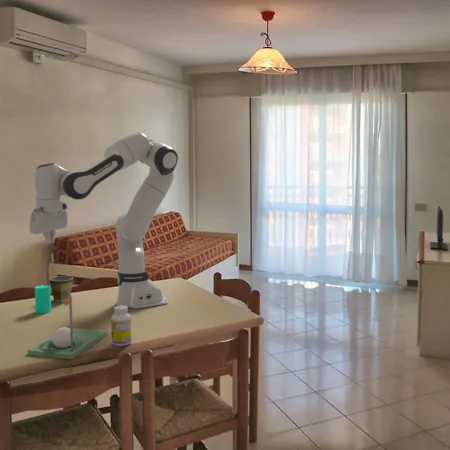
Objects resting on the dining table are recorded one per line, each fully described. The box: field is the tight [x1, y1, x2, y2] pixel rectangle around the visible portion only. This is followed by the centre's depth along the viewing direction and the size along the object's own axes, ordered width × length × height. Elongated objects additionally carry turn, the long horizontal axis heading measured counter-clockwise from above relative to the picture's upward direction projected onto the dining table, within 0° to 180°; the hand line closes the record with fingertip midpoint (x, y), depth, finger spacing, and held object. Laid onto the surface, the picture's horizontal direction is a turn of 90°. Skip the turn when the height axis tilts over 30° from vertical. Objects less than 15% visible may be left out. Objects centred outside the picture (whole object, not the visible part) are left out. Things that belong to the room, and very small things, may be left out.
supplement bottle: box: [110, 305, 132, 347], centre depth 187 cm, size 7×7×13 cm
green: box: [27, 296, 108, 360], centre depth 185 cm, size 24×16×20 cm, turn 165°
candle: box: [34, 283, 52, 314], centre depth 226 cm, size 6×6×12 cm
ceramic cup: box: [48, 275, 74, 303], centre depth 244 cm, size 13×10×10 cm
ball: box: [51, 327, 74, 350], centre depth 183 cm, size 7×7×7 cm
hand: (49, 242), depth 208 cm, fingers closed
